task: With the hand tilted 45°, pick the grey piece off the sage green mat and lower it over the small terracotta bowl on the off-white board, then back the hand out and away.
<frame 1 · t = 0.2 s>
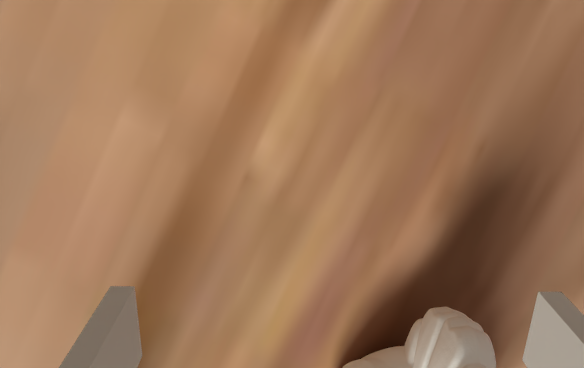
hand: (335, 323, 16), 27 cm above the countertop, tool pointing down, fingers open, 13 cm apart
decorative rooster: (404, 362, 50), on the countertop
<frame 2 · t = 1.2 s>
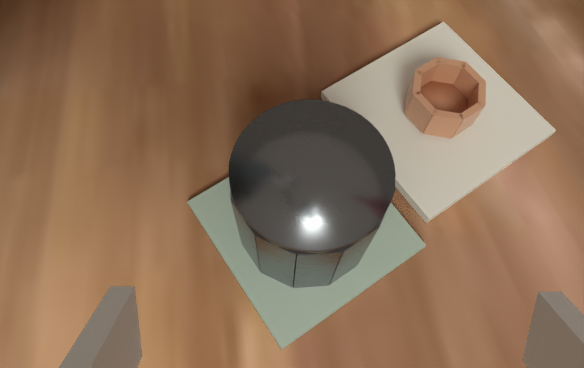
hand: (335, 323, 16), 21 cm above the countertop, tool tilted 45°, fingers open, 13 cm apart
board: (433, 116, 44), on the countertop
grey piece: (304, 223, 39), point 1 cm above the countertop, touching mat
bowl: (437, 110, 43), resting on board
mat: (304, 225, 39), on the countertop
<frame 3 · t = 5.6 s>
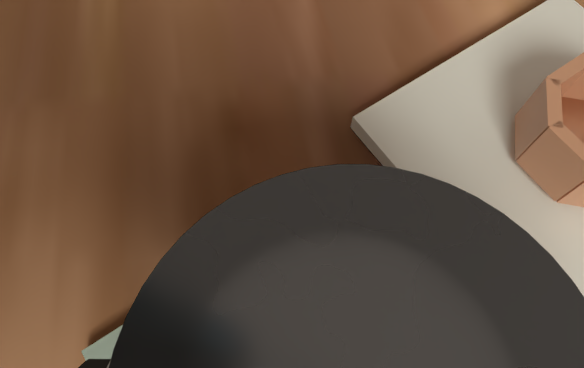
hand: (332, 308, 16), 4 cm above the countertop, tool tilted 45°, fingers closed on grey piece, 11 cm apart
board: (562, 163, 24), on the countertop
bowl: (574, 153, 23), resting on board
when the fingers open (6 cm above the countertop, at t = 11.3 s): grey piece drops 2 cm, resting on board.
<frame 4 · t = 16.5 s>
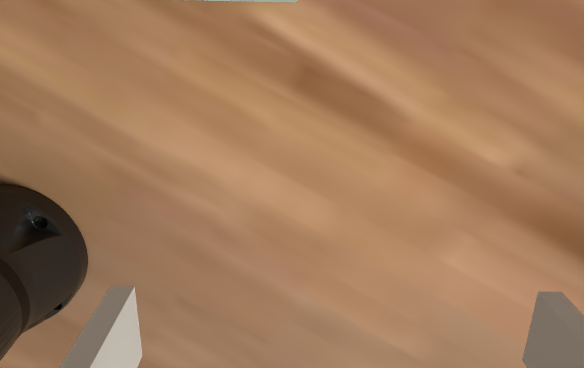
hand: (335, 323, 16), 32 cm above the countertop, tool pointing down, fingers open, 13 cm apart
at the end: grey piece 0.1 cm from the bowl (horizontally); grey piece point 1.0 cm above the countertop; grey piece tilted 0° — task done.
